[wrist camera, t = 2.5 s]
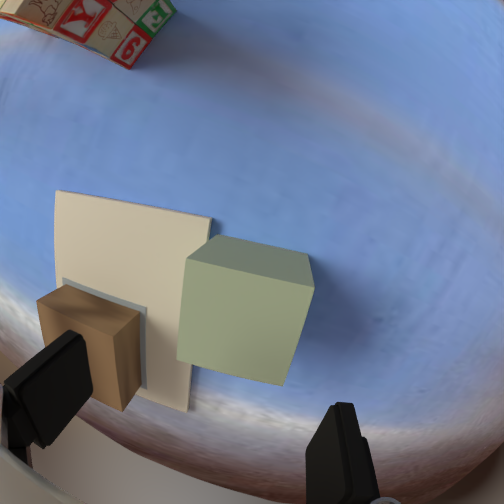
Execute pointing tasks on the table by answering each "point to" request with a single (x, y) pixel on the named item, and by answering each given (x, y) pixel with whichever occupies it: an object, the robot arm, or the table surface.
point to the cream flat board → (133, 275)
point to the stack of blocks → (95, 23)
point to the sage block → (243, 308)
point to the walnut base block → (98, 340)
